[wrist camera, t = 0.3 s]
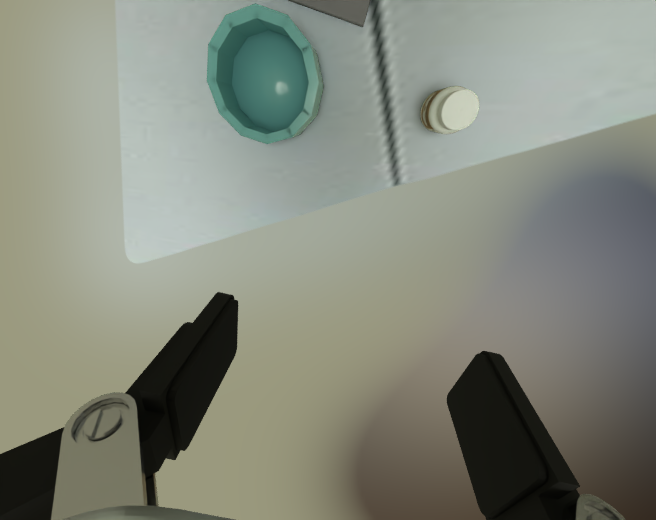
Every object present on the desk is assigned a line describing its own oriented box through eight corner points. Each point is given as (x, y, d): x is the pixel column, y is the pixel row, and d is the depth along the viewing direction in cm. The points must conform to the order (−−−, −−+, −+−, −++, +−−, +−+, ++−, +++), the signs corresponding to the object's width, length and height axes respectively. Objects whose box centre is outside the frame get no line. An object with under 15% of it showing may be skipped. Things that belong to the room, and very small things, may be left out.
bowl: (233, 6, 29) (210, -13, 24) (334, 42, 29) (330, 30, 25) (224, 122, 35) (204, 123, 30) (309, 150, 35) (302, 155, 31)
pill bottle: (424, 89, 31) (442, 81, 24) (462, 90, 30) (492, 84, 24) (416, 130, 33) (431, 134, 26) (451, 132, 32) (476, 137, 26)
